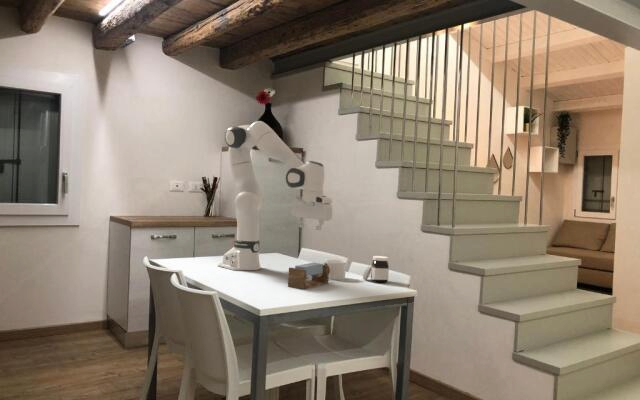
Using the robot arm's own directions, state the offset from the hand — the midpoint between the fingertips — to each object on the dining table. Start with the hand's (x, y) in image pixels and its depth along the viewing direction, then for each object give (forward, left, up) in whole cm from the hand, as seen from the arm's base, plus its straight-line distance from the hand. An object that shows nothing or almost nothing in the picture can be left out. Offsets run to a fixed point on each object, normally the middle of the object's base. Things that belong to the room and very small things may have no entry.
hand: (309, 228), depth 234 cm
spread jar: (+20, +26, -24) cm, 41 cm away
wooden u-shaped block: (+4, -5, -24) cm, 25 cm away
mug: (+1, +19, -24) cm, 31 cm away
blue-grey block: (+4, -5, -19) cm, 20 cm away
